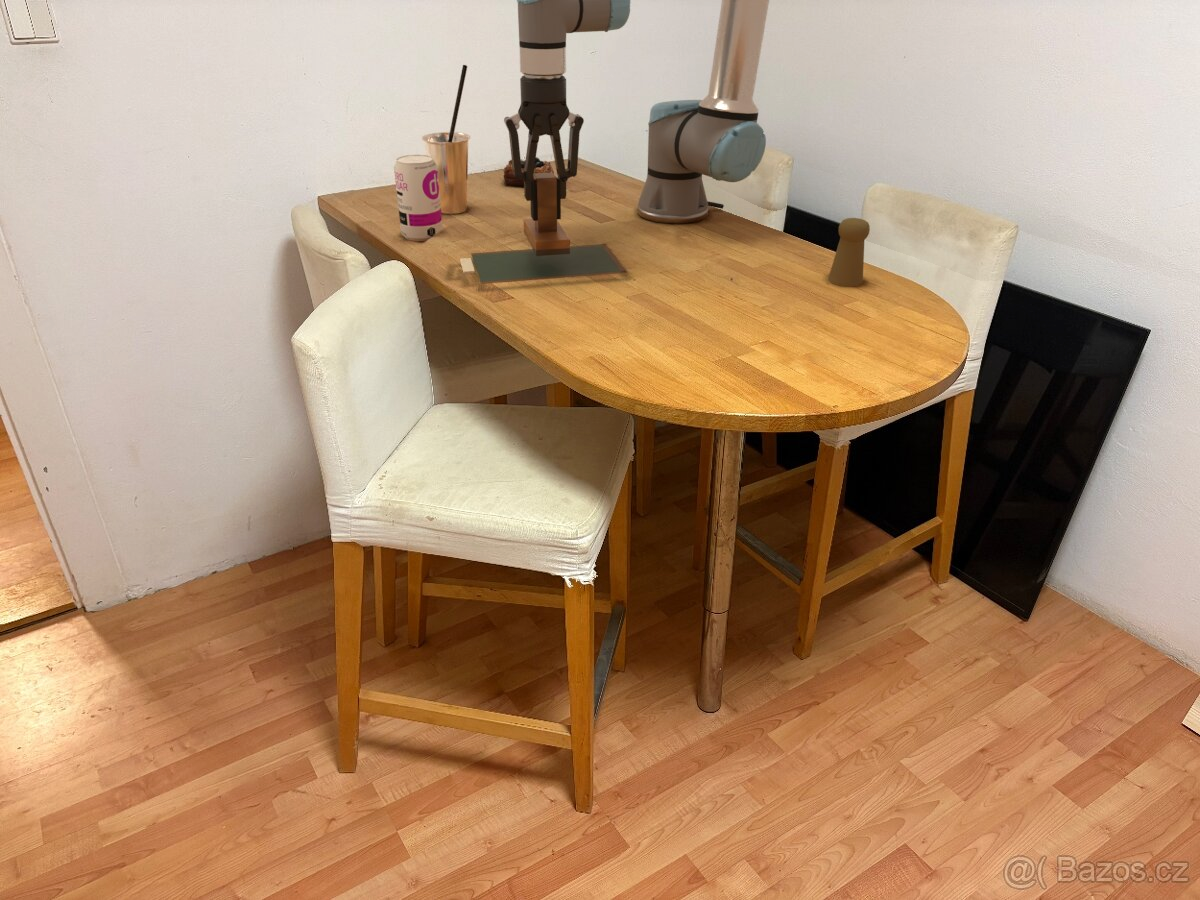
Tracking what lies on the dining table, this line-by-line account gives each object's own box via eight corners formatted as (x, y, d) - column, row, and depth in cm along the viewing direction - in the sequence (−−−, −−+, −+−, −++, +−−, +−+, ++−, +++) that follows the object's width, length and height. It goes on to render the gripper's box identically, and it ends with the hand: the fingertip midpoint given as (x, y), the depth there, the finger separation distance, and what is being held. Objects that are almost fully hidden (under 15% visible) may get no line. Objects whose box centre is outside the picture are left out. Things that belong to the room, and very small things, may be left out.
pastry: (509, 175, 214) (508, 150, 211) (557, 176, 213) (556, 152, 210) (500, 186, 205) (499, 161, 202) (550, 188, 204) (550, 163, 201)
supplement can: (450, 232, 175) (444, 156, 167) (427, 244, 169) (419, 166, 161) (417, 227, 178) (409, 152, 170) (393, 238, 172) (384, 161, 164)
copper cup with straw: (476, 218, 183) (466, 65, 168) (424, 217, 184) (409, 64, 168) (483, 203, 193) (474, 57, 177) (433, 202, 193) (420, 56, 177)
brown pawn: (864, 276, 156) (875, 216, 150) (861, 288, 151) (872, 226, 145) (830, 272, 158) (839, 212, 152) (826, 284, 153) (835, 222, 147)
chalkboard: (605, 249, 167) (605, 243, 167) (627, 278, 154) (627, 272, 153) (471, 259, 162) (470, 253, 161) (482, 290, 149) (481, 283, 148)
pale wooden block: (460, 262, 158) (459, 258, 158) (471, 261, 158) (470, 257, 158) (463, 276, 152) (463, 271, 152) (475, 275, 153) (474, 270, 152)
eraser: (555, 230, 161) (554, 165, 155) (570, 253, 151) (569, 184, 144) (523, 232, 160) (521, 166, 154) (536, 256, 149) (534, 186, 143)
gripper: (587, 70, 145) (586, 209, 158) (489, 72, 142) (496, 214, 154) (597, 77, 139) (595, 221, 151) (495, 79, 136) (502, 226, 148)
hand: (545, 217), depth 153 cm, fingers closed on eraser, 3 cm apart
